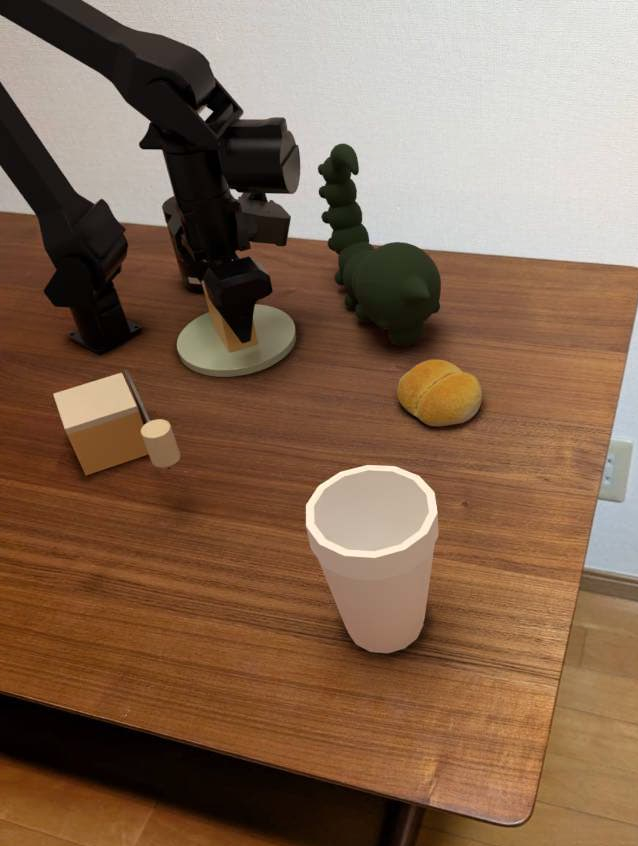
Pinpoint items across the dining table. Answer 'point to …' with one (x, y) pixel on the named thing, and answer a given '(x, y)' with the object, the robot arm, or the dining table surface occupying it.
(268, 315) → the plate
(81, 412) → the cake
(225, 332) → the cake slice
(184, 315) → the dining table surface
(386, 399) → the dining table surface
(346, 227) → the toy figurine
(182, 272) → the supplement container
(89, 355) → the dining table surface
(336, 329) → the dining table surface
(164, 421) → the knife
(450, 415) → the bread roll
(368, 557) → the foam cup
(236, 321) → the robot arm
